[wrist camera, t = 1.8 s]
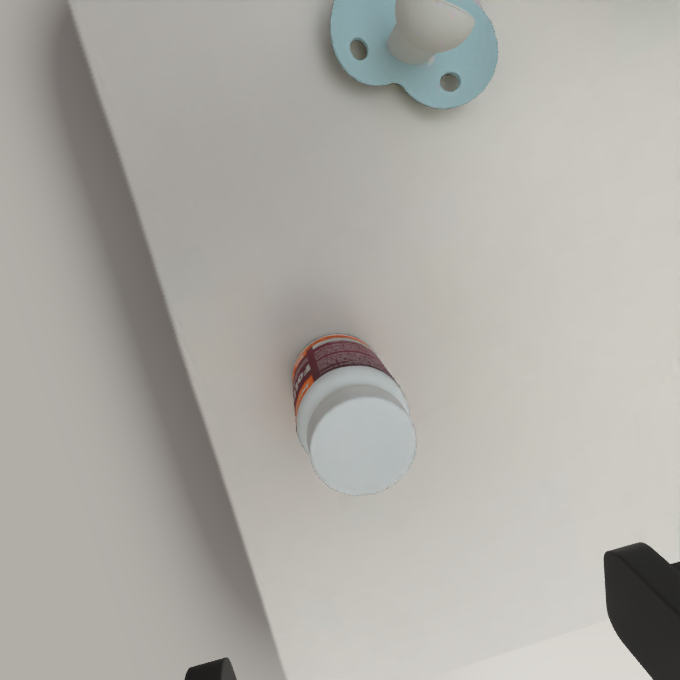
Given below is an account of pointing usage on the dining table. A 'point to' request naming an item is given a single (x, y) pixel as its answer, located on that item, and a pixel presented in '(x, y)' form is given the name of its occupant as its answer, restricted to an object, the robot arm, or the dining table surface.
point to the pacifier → (417, 46)
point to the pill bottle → (351, 416)
